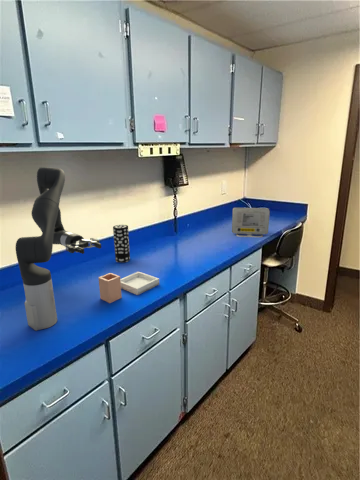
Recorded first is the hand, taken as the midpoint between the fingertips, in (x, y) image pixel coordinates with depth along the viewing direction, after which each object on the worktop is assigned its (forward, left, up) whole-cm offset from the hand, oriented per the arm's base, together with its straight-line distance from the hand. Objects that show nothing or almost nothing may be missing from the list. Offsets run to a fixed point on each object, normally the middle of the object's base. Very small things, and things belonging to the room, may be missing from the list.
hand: (92, 248), depth 133 cm
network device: (+125, -13, -21) cm, 127 cm away
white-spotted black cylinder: (+34, +21, -20) cm, 45 cm away
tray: (+16, -11, -20) cm, 28 cm away
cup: (0, -11, -20) cm, 23 cm away
